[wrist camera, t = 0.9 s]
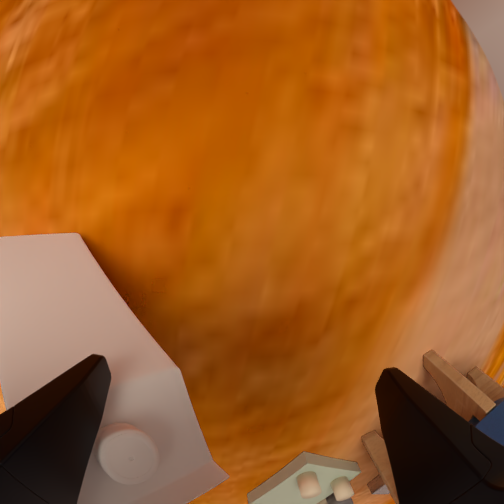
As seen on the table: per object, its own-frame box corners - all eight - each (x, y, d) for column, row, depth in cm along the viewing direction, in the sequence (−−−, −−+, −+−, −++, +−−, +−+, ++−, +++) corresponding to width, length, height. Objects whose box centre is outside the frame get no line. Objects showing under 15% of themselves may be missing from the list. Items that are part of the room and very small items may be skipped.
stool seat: (301, 502, 30) (307, 525, 26) (247, 493, 29) (250, 521, 24) (356, 462, 29) (368, 487, 24) (303, 451, 27) (313, 482, 22)
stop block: (383, 484, 32) (388, 493, 30) (367, 484, 31) (371, 494, 29) (396, 474, 32) (401, 483, 30) (380, 473, 31) (385, 483, 29)
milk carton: (77, 308, 21) (215, 500, 10) (6, 318, 16) (99, 554, 5) (78, 231, 19) (252, 436, 8) (-5, 236, 14) (52, 527, 3)
